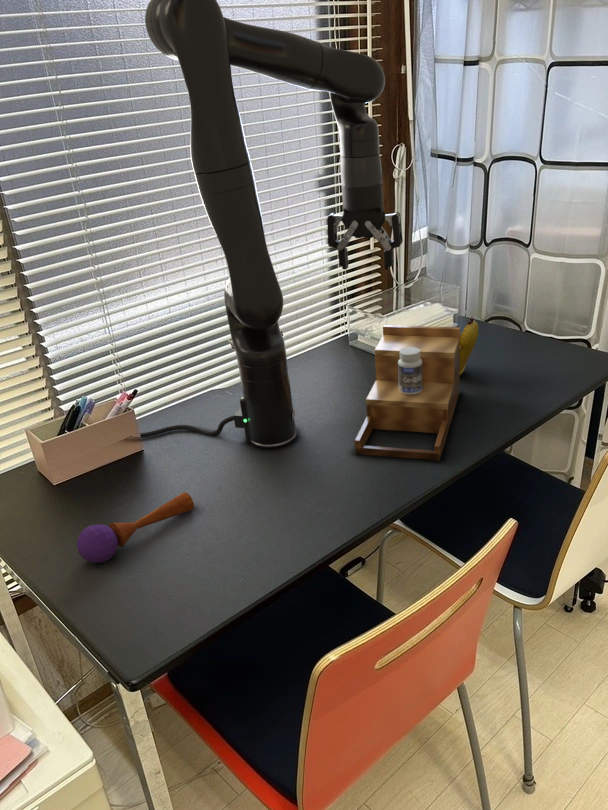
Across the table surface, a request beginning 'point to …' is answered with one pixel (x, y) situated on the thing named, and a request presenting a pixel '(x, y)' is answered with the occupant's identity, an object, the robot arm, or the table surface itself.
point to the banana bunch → (467, 342)
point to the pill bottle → (410, 371)
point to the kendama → (125, 530)
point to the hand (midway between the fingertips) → (366, 268)
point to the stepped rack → (415, 410)
